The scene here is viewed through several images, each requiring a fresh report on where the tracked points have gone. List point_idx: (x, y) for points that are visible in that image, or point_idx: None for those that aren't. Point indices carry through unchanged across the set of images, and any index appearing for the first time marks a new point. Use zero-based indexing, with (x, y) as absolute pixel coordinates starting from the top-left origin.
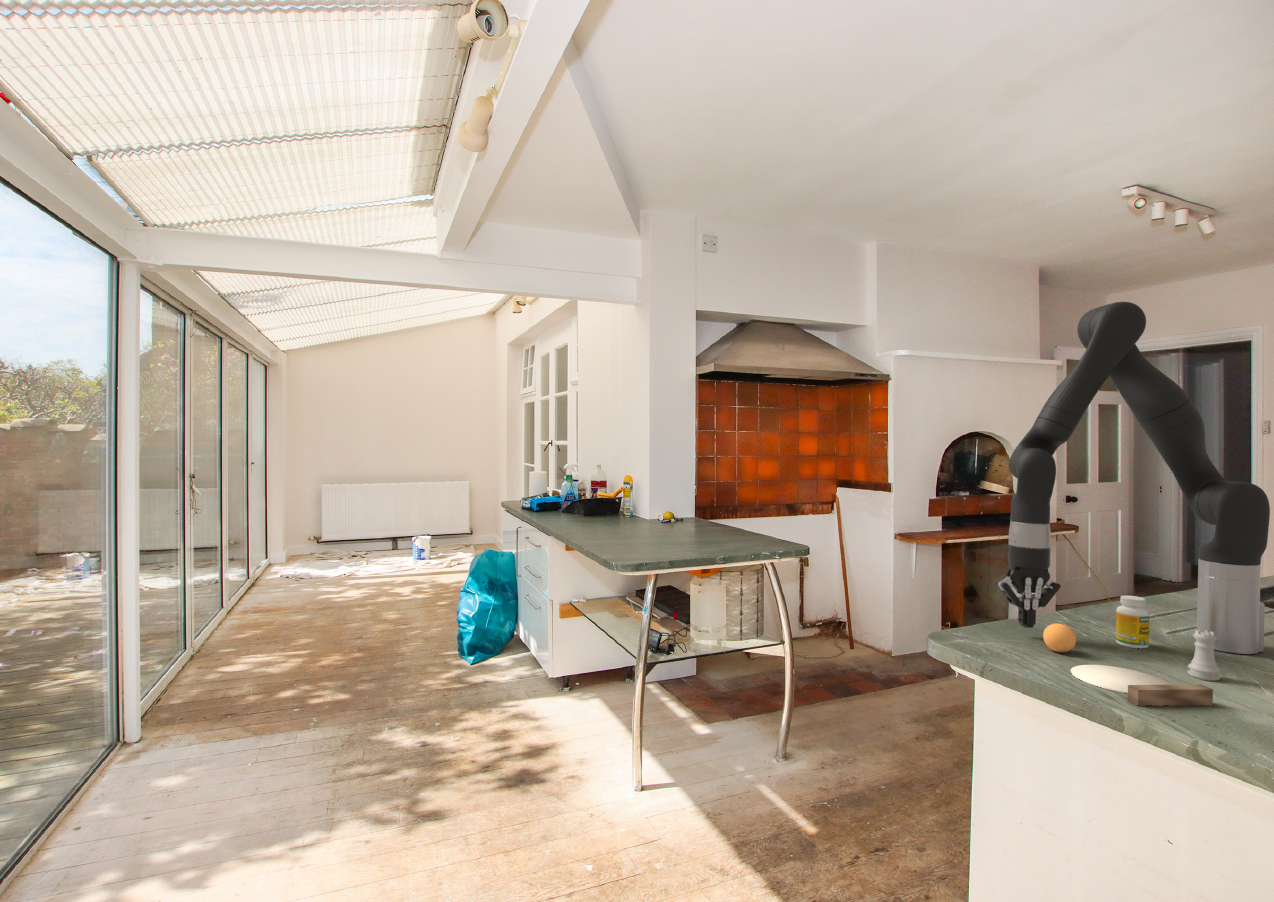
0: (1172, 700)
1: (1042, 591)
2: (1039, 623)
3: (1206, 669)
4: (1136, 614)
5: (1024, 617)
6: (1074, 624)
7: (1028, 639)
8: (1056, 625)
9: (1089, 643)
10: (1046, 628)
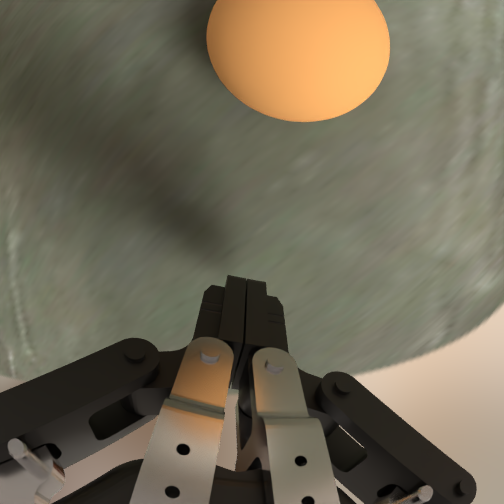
0: None
1: (83, 448)
2: None
3: None
4: None
5: (272, 322)
6: (5, 322)
7: (263, 241)
8: (355, 16)
9: (50, 144)
10: (374, 80)
